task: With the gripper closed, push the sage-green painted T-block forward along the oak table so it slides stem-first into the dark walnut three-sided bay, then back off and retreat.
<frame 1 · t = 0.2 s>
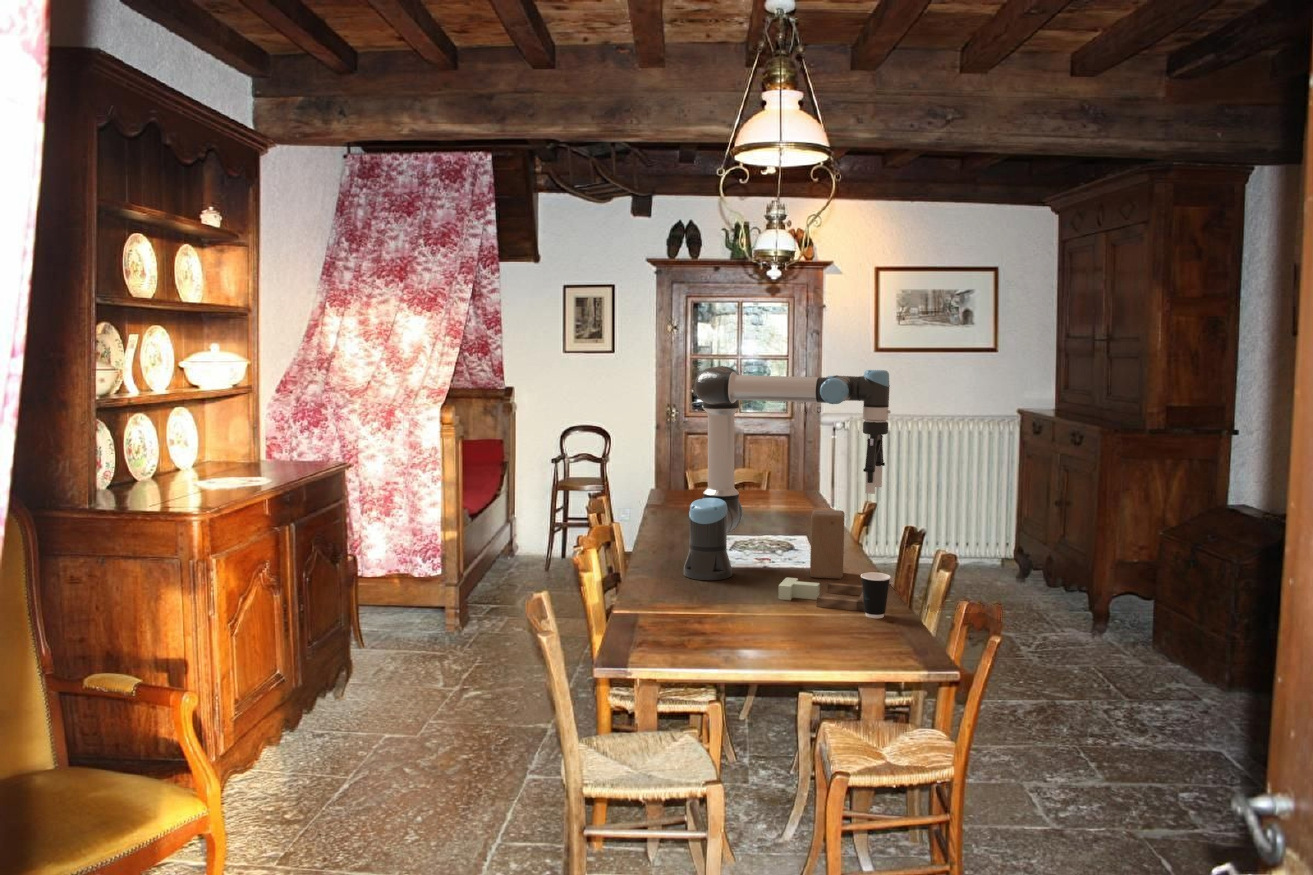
hand: (873, 490, 305), 28 cm above the table, fingers open, 13 cm apart
dixie cup: (874, 616, 268), on the table
wooden block: (826, 575, 313), on the table
bay: (847, 600, 283), on the table
t block: (788, 595, 289), on the table
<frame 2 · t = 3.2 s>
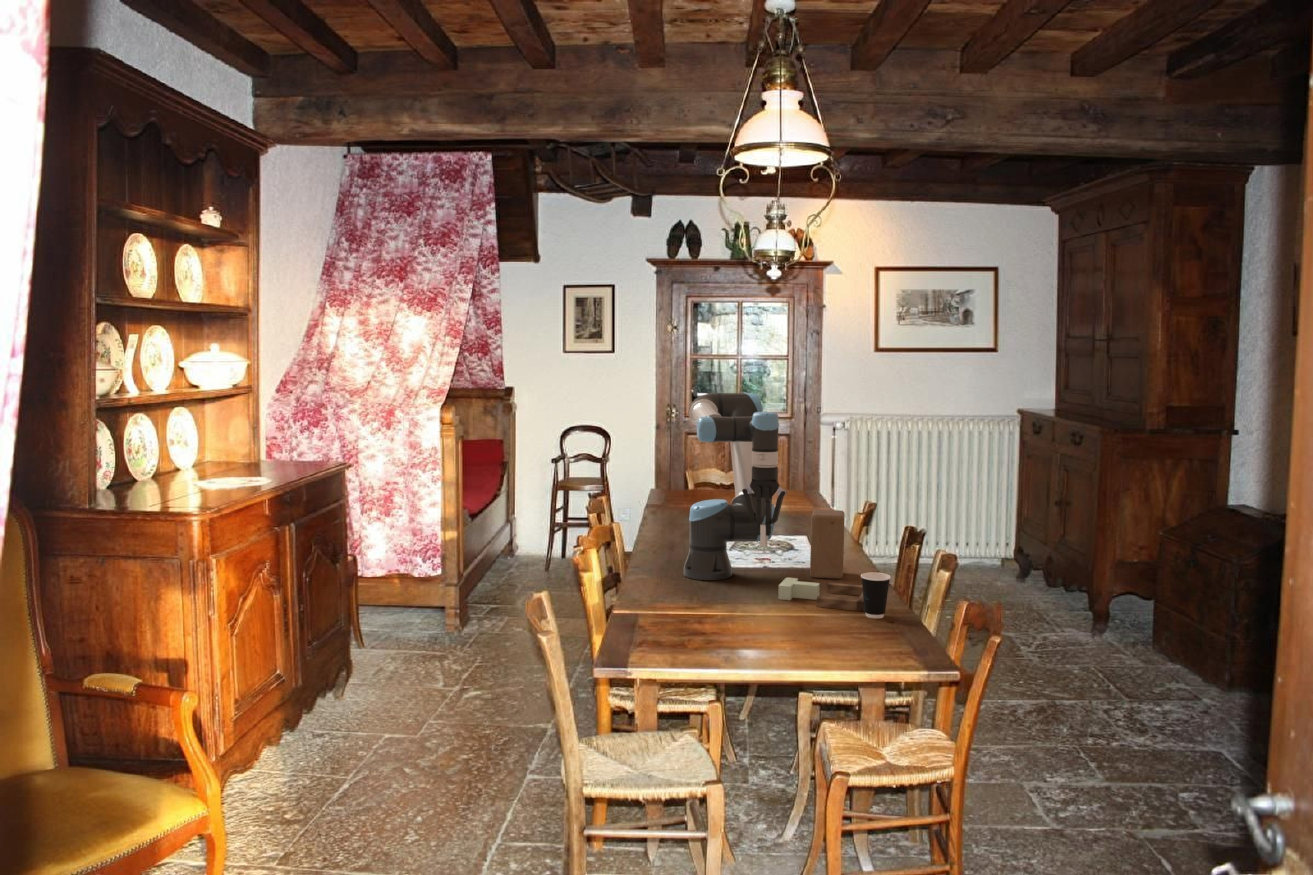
hand: (763, 546, 290), 14 cm above the table, fingers closed
nothing on the table moved.
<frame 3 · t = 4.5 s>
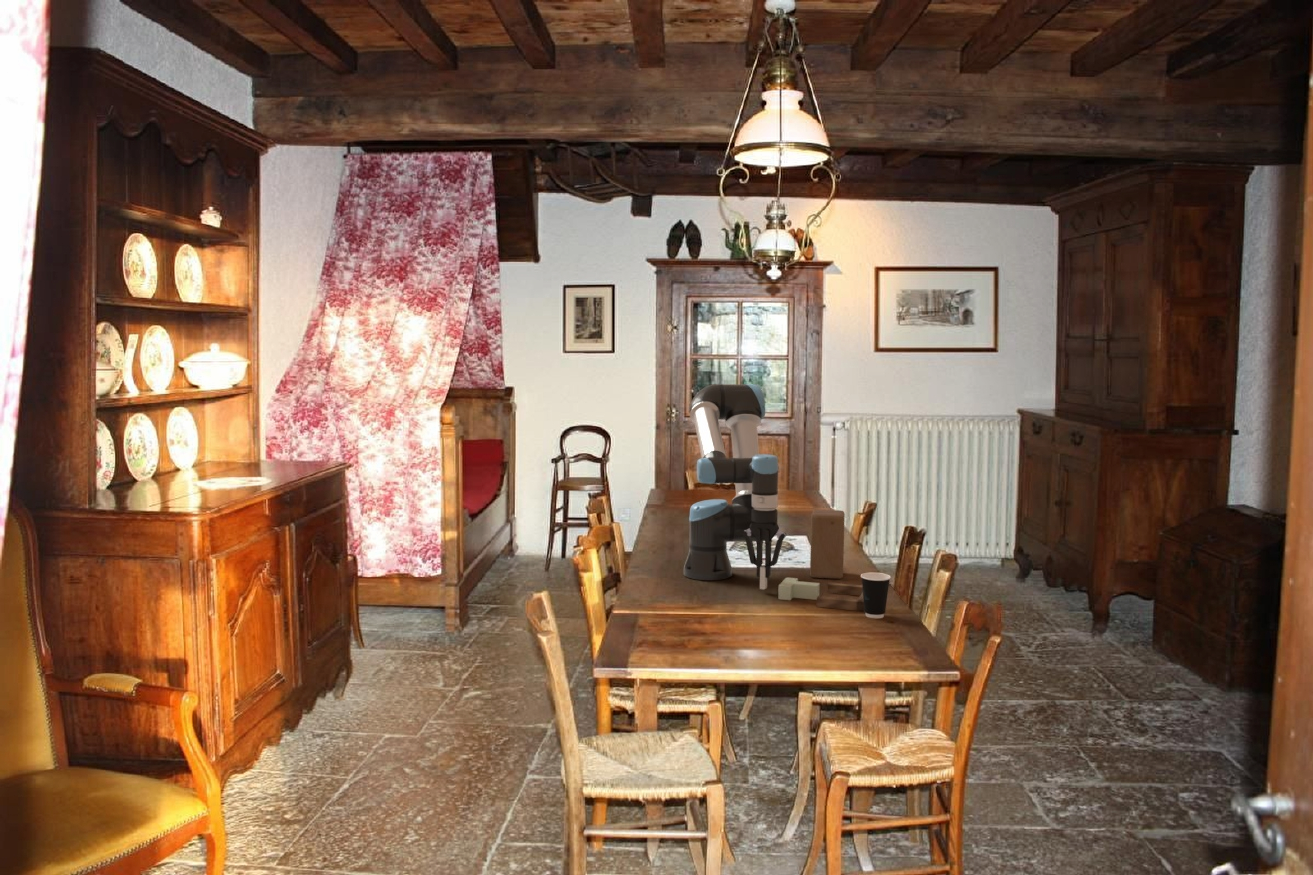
hand: (763, 588, 291), 1 cm above the table, fingers closed
nothing on the table moved.
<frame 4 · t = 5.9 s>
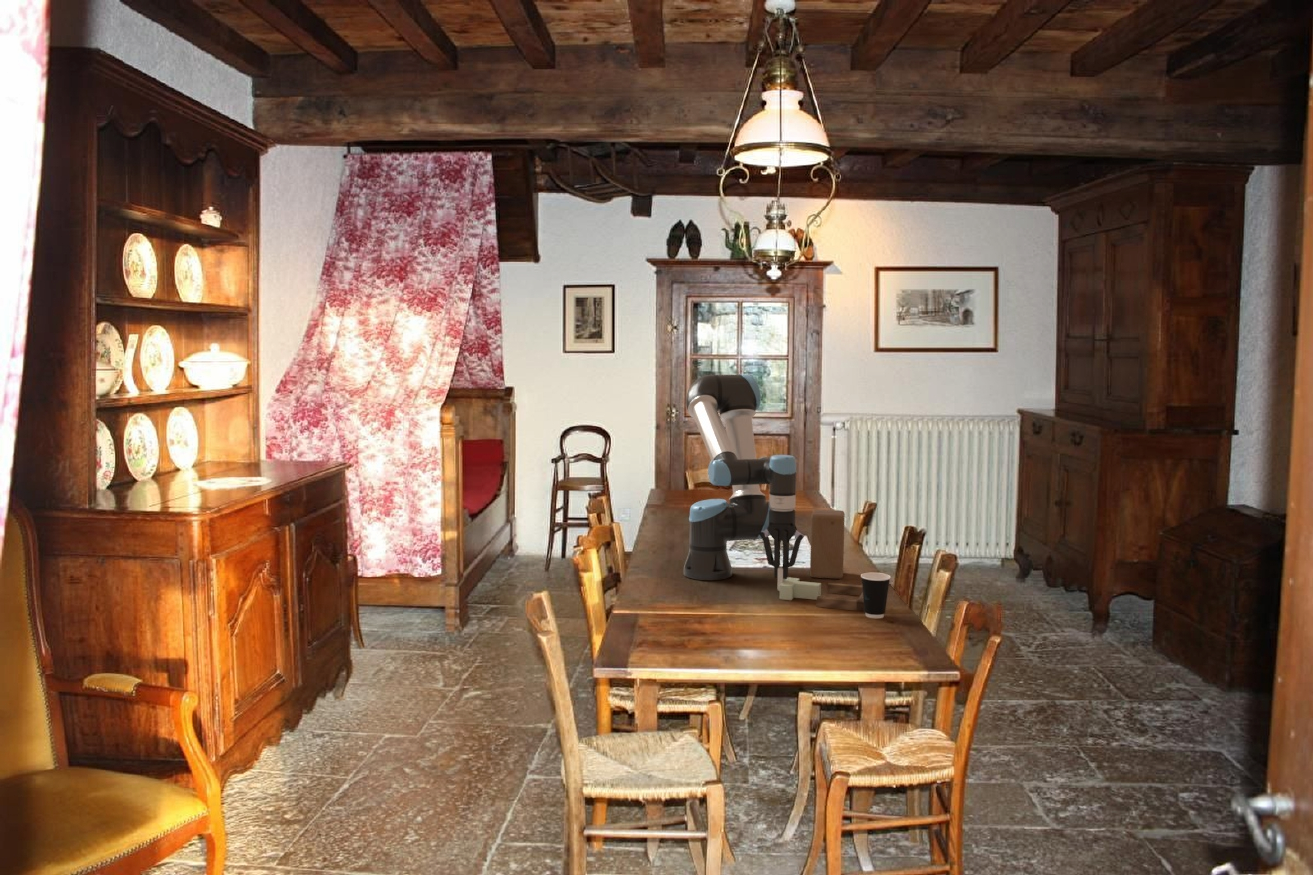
hand: (781, 589, 289), 2 cm above the table, fingers closed
t block: (789, 595, 289), on the table, touching gripper
everything else where it was.
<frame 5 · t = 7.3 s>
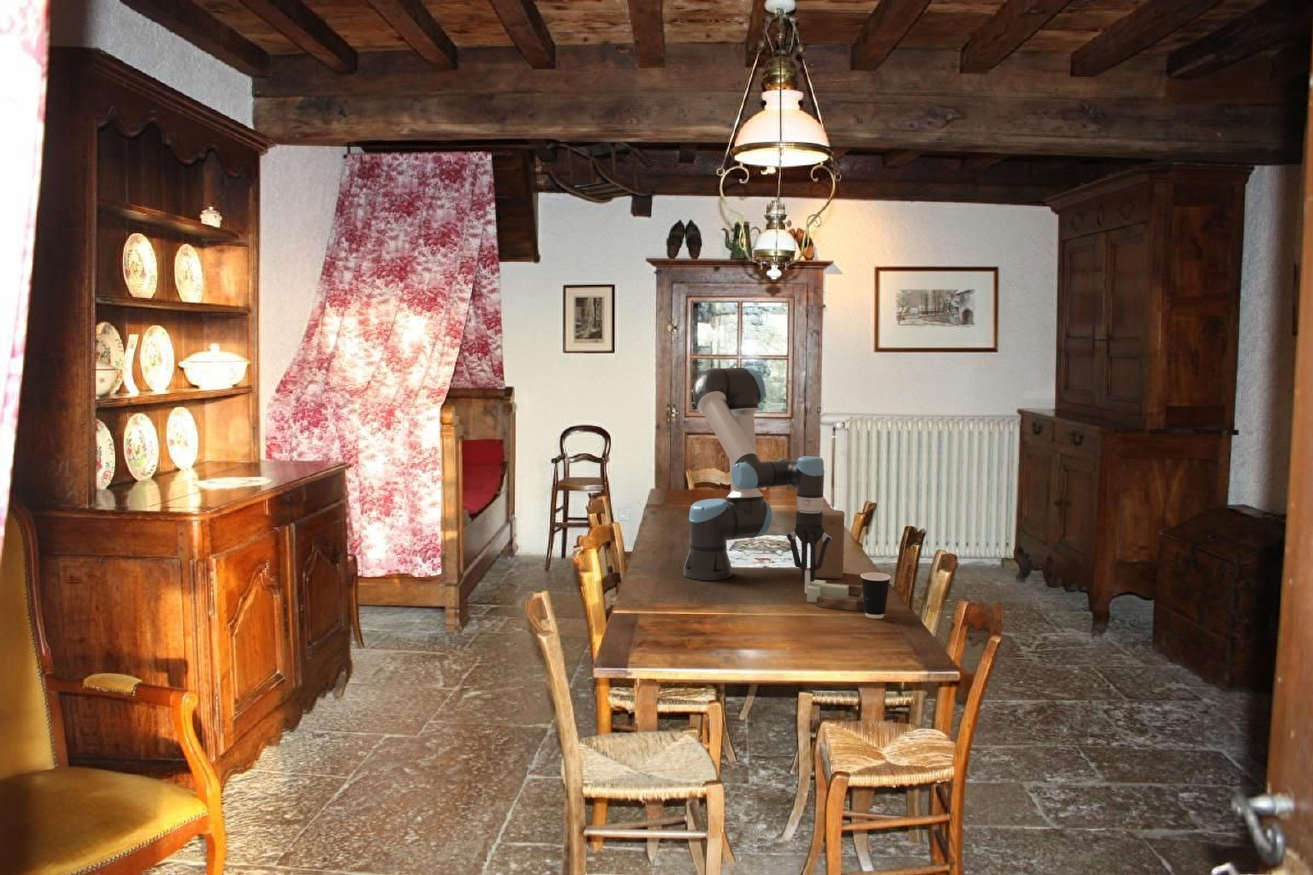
hand: (808, 591, 287), 2 cm above the table, fingers closed
t block: (816, 597, 286), on the table, touching gripper
everything else where it was.
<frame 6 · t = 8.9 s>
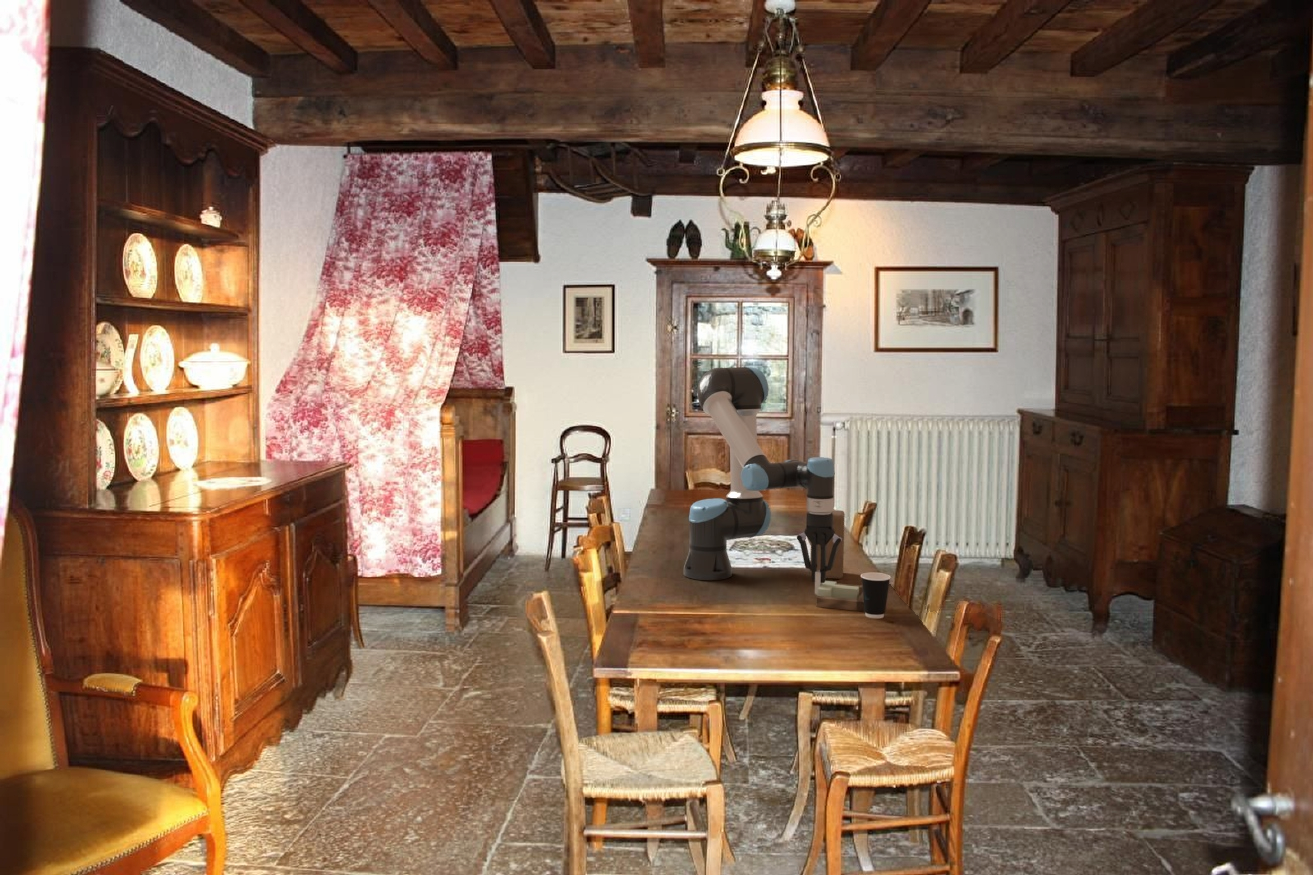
hand: (818, 593, 286), 1 cm above the table, fingers closed
t block: (827, 599, 285), on the table
everything else where it was.
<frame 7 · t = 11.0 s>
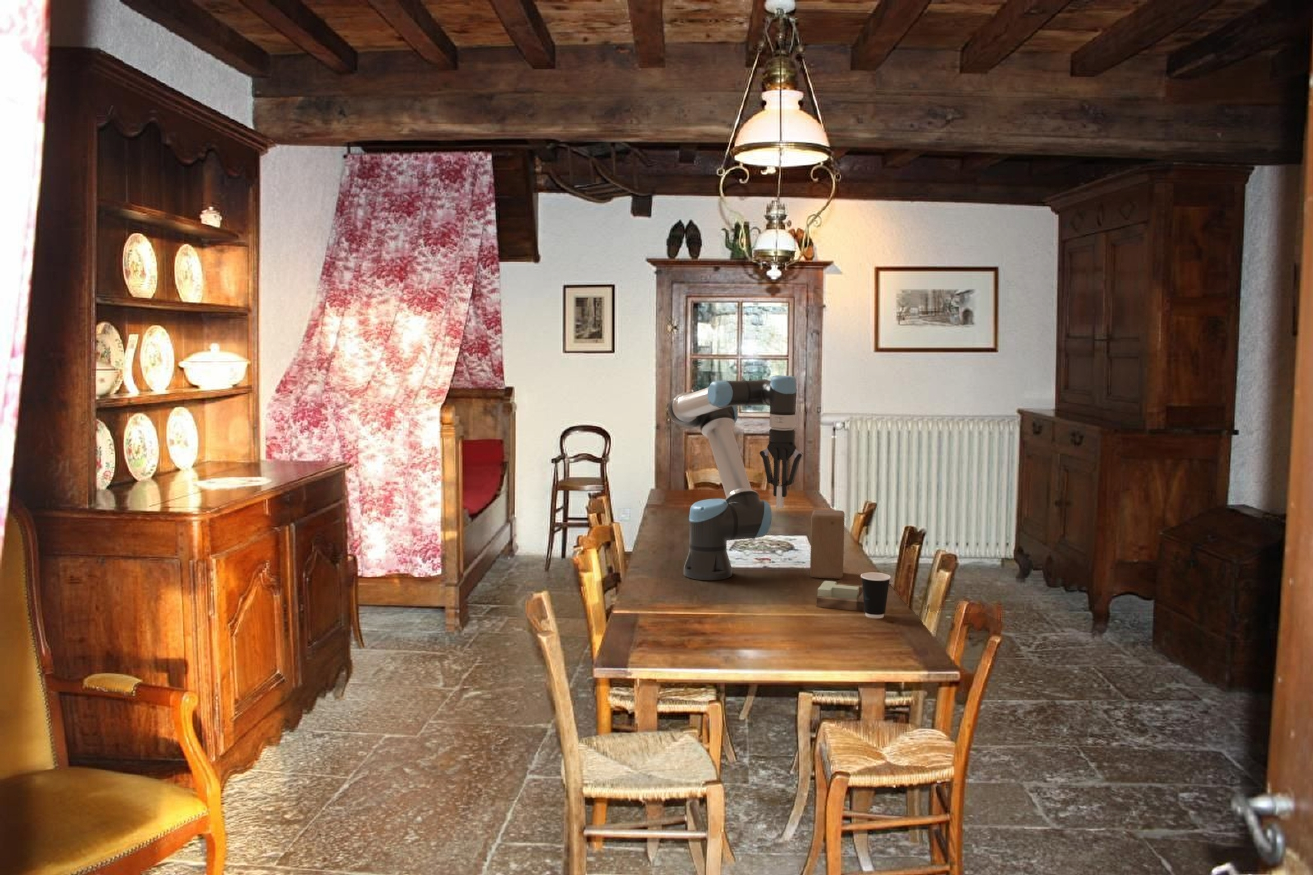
hand: (779, 507, 296), 24 cm above the table, fingers closed
nothing on the table moved.
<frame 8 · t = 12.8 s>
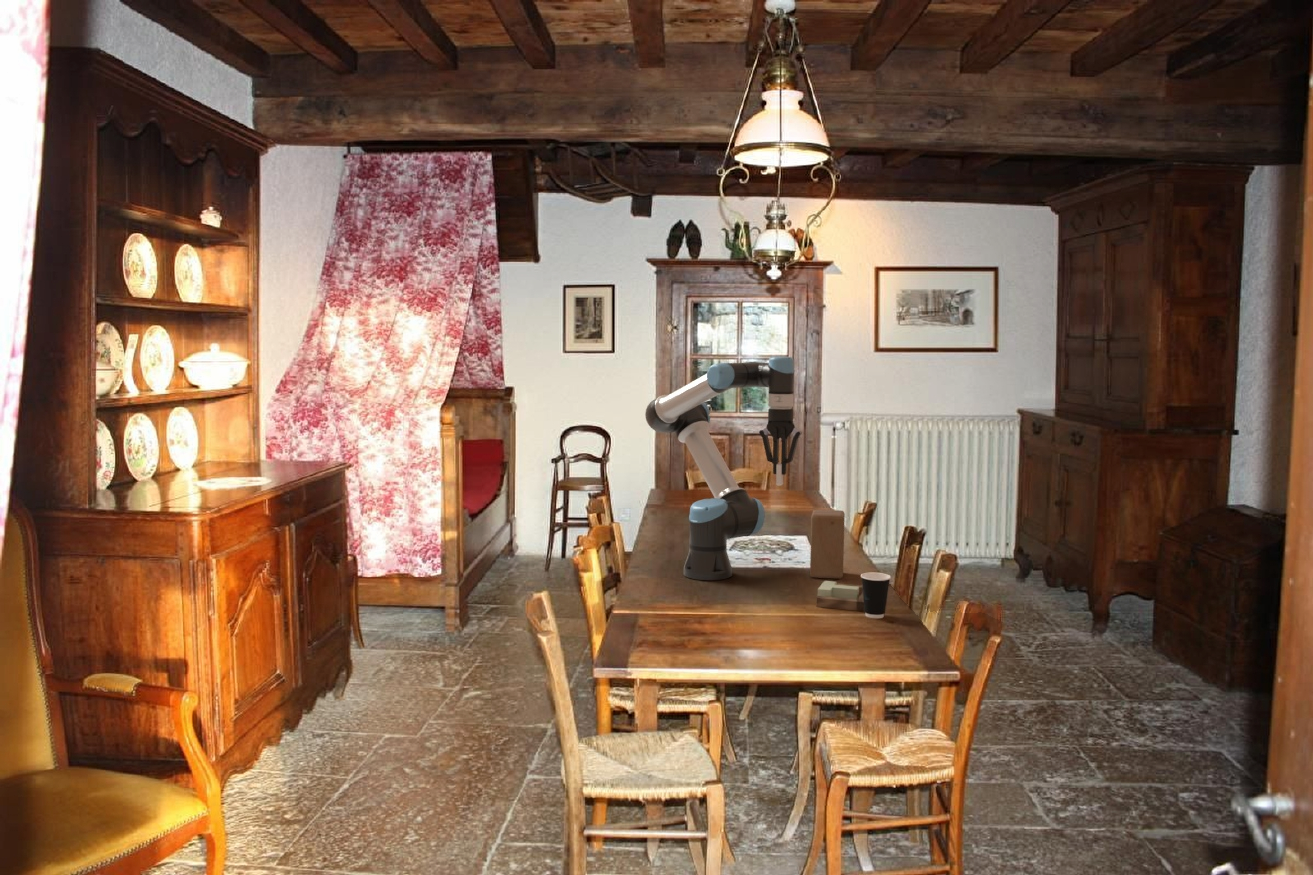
hand: (779, 485, 304), 29 cm above the table, fingers closed
nothing on the table moved.
at the end: t block 1.6 cm from the target spot on the bay, point 0.0 cm above the bay's base; t block tilted 0° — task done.
